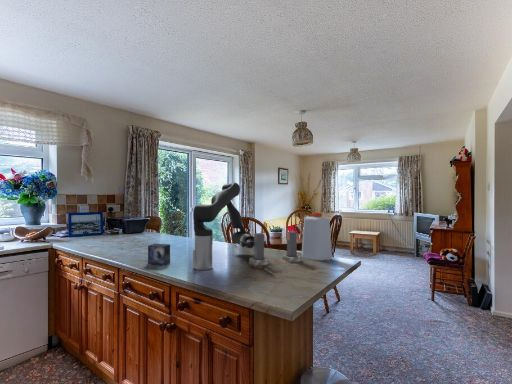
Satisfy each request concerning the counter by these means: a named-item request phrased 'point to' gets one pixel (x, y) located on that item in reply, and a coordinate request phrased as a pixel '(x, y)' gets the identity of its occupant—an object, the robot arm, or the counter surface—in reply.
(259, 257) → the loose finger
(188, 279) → the counter surface
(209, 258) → the robot arm
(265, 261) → the wooden base with sockets
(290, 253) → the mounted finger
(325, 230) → the grey bottle
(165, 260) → the small box
